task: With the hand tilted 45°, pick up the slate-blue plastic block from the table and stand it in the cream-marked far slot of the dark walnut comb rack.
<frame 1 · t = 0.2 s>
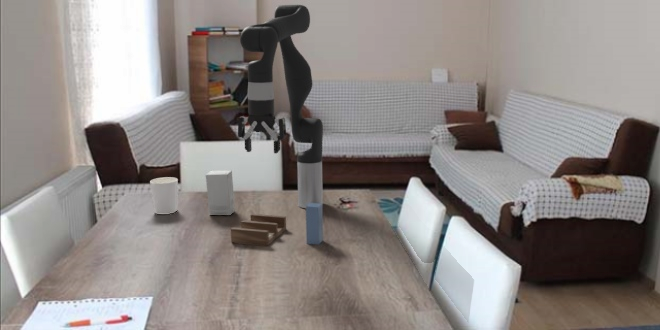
hand: (262, 152, 174), 29 cm above the table, tool pointing down, fingers open, 8 cm apart
skincare box: (221, 214, 214), on the table
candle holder: (166, 212, 217), on the table
block: (314, 242, 183), on the table
rack: (259, 235, 190), on the table
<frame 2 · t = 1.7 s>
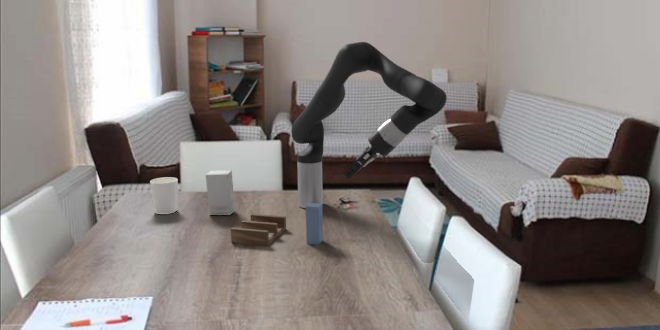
hand: (349, 173, 175), 23 cm above the table, tool tilted 45°, fingers open, 8 cm apart
nothing on the table moved.
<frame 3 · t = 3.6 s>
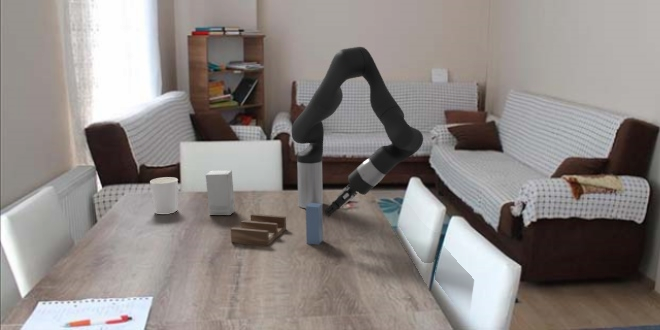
hand: (330, 209, 180), 11 cm above the table, tool tilted 45°, fingers open, 8 cm apart
nothing on the table moved.
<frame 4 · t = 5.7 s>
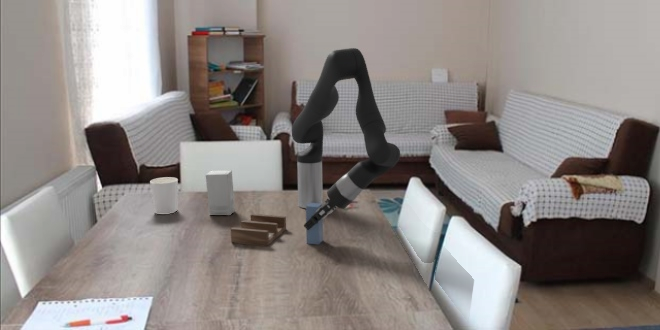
hand: (308, 225, 183), 5 cm above the table, tool tilted 45°, fingers closed on block, 4 cm apart
block: (314, 242, 183), on the table, touching gripper
everything else where it was.
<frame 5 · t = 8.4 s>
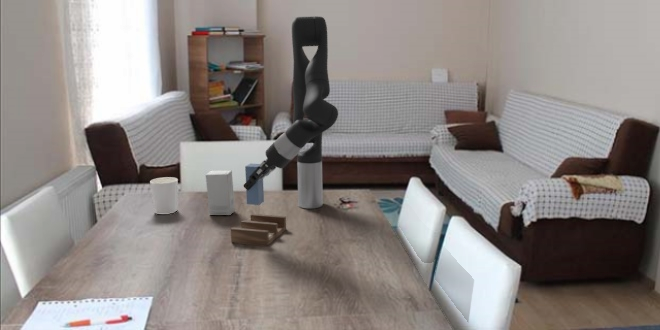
hand: (248, 186, 183), 17 cm above the table, tool tilted 45°, fingers closed on block, 4 cm apart
block: (255, 202, 183), point 12 cm above the table, touching gripper
everything else where it was.
when the fingers open (8 cm above the table, at t = 11.1 s): block stays where it is, resting on rack.
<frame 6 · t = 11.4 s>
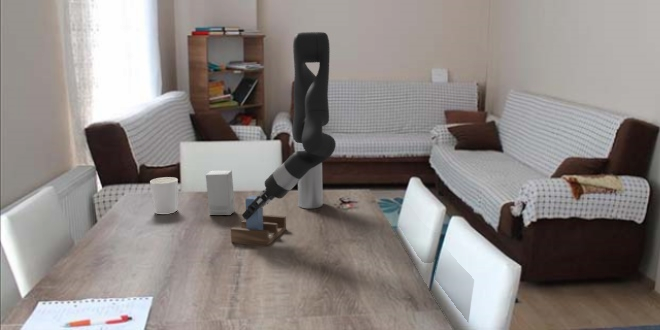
hand: (249, 214, 185), 8 cm above the table, tool tilted 45°, fingers open, 6 cm apart
block: (254, 234, 186), point 2 cm above the table, touching rack
everything else where it was.
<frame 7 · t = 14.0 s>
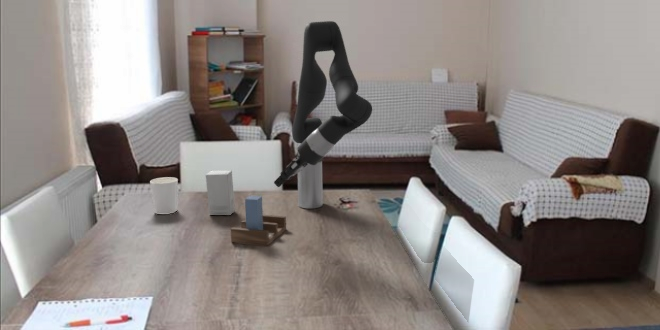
hand: (281, 181, 179), 20 cm above the table, tool tilted 45°, fingers open, 8 cm apart
nothing on the table moved.
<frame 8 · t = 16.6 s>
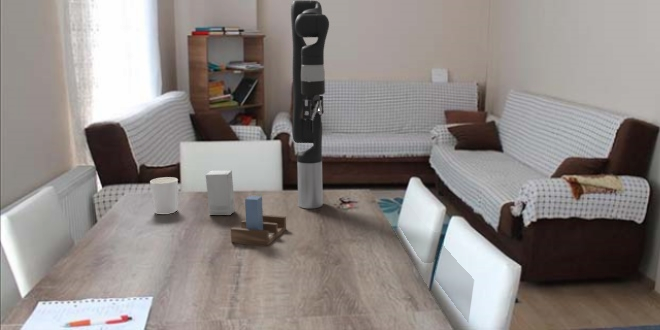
hand: (313, 130, 190), 33 cm above the table, tool pointing down, fingers open, 8 cm apart
nothing on the table moved.
at the end: block inside the target area on the rack (0.1 cm from its centre), point 1.7 cm above the rack's base; block tilted 0°; the gripper is holding nothing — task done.
